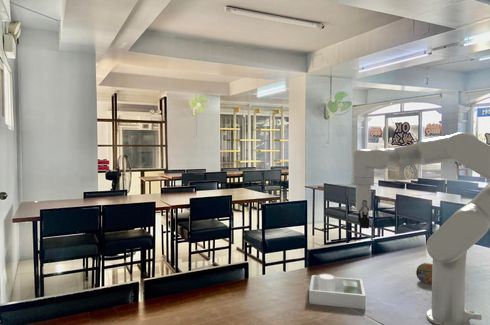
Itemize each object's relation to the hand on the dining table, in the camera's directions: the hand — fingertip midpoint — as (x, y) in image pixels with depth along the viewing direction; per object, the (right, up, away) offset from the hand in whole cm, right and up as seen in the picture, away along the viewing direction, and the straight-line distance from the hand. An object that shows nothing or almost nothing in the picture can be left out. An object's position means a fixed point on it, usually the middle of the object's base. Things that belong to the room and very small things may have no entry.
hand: (363, 225), depth 134 cm
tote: (-10, -28, +1) cm, 30 cm away
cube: (-5, -28, 0) cm, 28 cm away
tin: (+35, -28, +13) cm, 47 cm away
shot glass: (-14, -28, +2) cm, 31 cm away
